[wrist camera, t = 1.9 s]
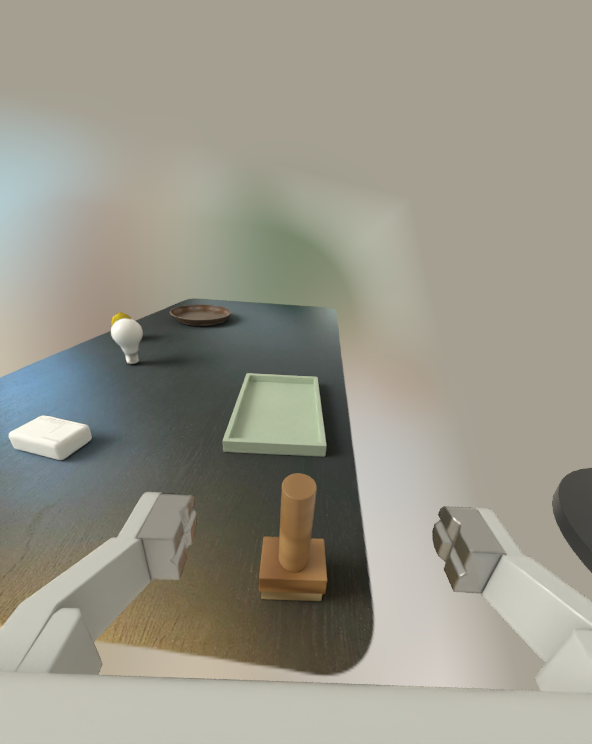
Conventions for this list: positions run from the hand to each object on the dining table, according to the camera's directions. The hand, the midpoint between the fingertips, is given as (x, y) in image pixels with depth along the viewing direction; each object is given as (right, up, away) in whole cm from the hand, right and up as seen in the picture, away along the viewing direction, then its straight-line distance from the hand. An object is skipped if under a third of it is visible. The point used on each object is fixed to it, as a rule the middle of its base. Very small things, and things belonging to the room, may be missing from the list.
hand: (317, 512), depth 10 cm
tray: (-4, -3, +47) cm, 47 cm away
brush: (-1, -16, +20) cm, 25 cm away
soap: (-37, -6, +35) cm, 52 cm away
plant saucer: (-35, +23, +99) cm, 107 cm away
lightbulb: (-40, +6, +63) cm, 74 cm away
